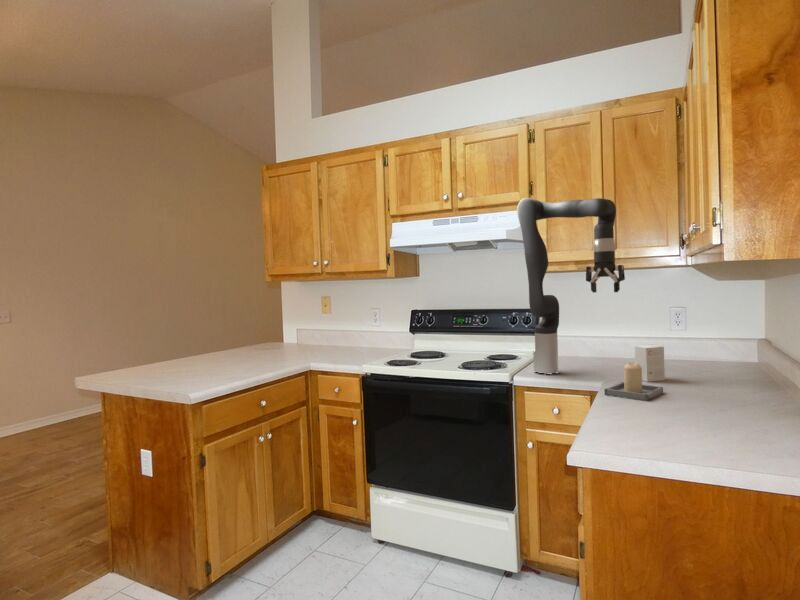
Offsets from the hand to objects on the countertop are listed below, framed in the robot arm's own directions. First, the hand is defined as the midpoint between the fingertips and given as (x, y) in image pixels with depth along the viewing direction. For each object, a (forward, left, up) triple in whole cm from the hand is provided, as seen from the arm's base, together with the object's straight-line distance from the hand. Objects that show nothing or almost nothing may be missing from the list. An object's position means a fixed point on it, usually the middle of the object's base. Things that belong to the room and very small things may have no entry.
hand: (605, 292), depth 189 cm
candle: (+17, -18, -34) cm, 42 cm away
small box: (+13, +8, -34) cm, 38 cm away
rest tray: (+17, -18, -34) cm, 42 cm away
